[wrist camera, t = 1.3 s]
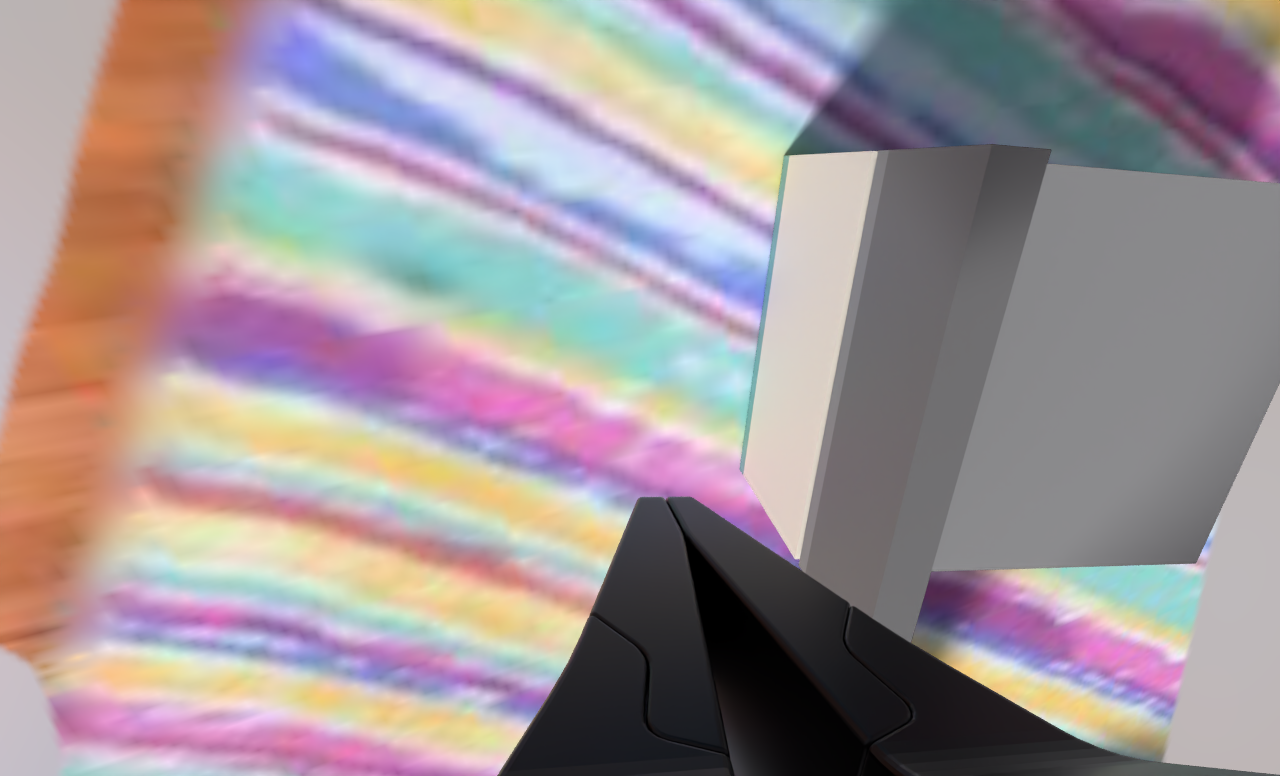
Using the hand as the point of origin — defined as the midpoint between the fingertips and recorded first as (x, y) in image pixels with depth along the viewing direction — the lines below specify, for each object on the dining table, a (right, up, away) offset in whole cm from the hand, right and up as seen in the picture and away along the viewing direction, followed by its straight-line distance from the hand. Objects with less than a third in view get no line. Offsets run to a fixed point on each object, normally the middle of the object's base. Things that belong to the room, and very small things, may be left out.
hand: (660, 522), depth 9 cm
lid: (+12, +2, +8) cm, 15 cm away
